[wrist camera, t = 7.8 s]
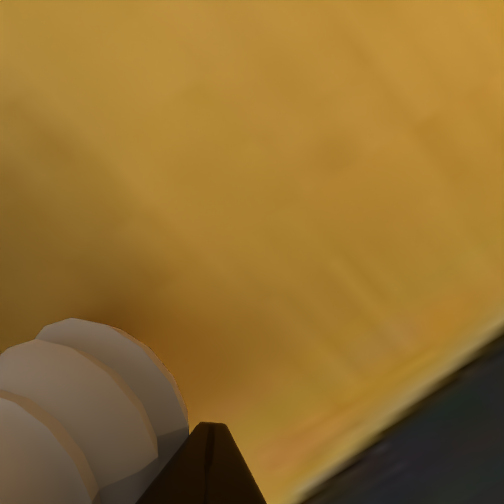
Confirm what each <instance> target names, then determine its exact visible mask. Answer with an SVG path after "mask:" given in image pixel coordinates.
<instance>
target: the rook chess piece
mask: <svg viewBox="0 0 504 504" xmlns="http://www.w3.org/2000/svg"><path fill="white" fill-rule="evenodd" d="M188 436H189V426H188V412H187V408H186V405H185V403H184V401H183V398H182V396H181V393H180V391H179V388H178V386H177V384H176V381H175V379H174V377H173V375H172V374H171V373H170V372H169V370H168V369H167V368H166V367H165V366H164V364H163V363H162V362H161V361H160V359H159V358H158V357H157V356H156V355H155V353H154V352H153V351H152V350H151V348H149V347H148V346H146V345H145V344H143V343H142V342H140V341H139V340H137V339H136V338H134V337H132V336H131V335H129V334H128V333H126V332H125V331H123V330H122V329H119V328H116V327H112V326H109V325H106V324H101V323H96V322H91V321H86V320H82V319H77V318H69V319H65V320H62V321H59V322H56V323H53V324H50V325H47V326H44V327H43V328H42V330H41V331H40V332H39V333H38V335H37V336H36V337H35V338H34V340H31V341H28V342H25V343H21V344H18V345H15V346H11V347H8V348H7V349H6V350H5V351H4V352H3V353H2V354H1V355H0V504H135V503H136V502H137V500H138V499H139V498H140V497H141V495H142V494H143V493H144V492H145V490H146V489H147V488H148V487H149V485H150V484H151V483H152V481H153V480H154V479H155V478H156V476H157V475H158V474H159V473H160V471H161V470H162V469H163V468H164V466H165V465H166V464H167V463H168V461H169V460H170V459H171V458H172V456H173V455H174V454H175V453H176V451H177V450H178V449H179V447H180V446H181V445H182V444H183V442H184V441H185V440H186V439H187V437H188Z"/></svg>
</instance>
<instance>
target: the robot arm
mask: <svg viewBox="0 0 504 504" xmlns="http://www.w3.org/2000/svg"><path fill="white" fill-rule="evenodd" d="M135 504H267V503H266V501H265V499H264V497H263V495H262V493H261V491H260V489H259V487H258V486H257V484H256V482H255V480H254V478H253V476H252V474H251V472H250V470H249V468H248V466H247V464H246V462H245V460H244V458H243V456H242V454H241V452H240V451H239V449H238V447H237V445H236V443H235V441H234V439H233V437H232V435H231V433H230V431H229V429H228V427H227V426H226V424H224V423H212V422H200V423H199V424H198V425H197V426H196V427H195V429H194V430H193V431H192V432H191V434H190V435H189V436H188V437H187V439H186V440H185V441H184V442H183V444H182V445H181V446H180V447H179V449H178V450H177V451H176V453H175V454H174V455H173V456H172V458H171V459H170V460H169V461H168V463H167V464H166V465H165V466H164V468H163V469H162V470H161V471H160V473H159V474H158V475H157V476H156V478H155V479H154V480H153V481H152V483H151V484H150V485H149V487H148V488H147V489H146V490H145V492H144V493H143V494H142V495H141V497H140V498H139V499H138V500H137V502H136V503H135Z"/></svg>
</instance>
